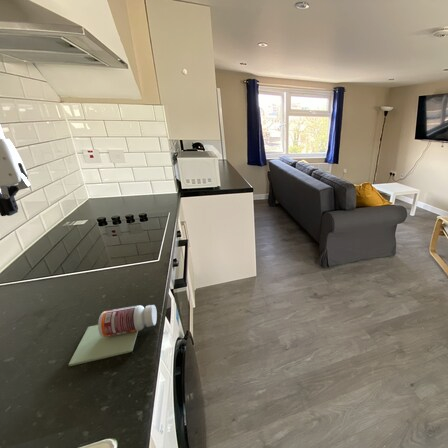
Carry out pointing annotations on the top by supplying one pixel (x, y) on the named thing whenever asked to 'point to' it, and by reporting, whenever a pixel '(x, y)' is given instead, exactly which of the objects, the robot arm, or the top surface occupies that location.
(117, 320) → the pill bottle
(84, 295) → the top surface
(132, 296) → the top surface
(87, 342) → the mat
